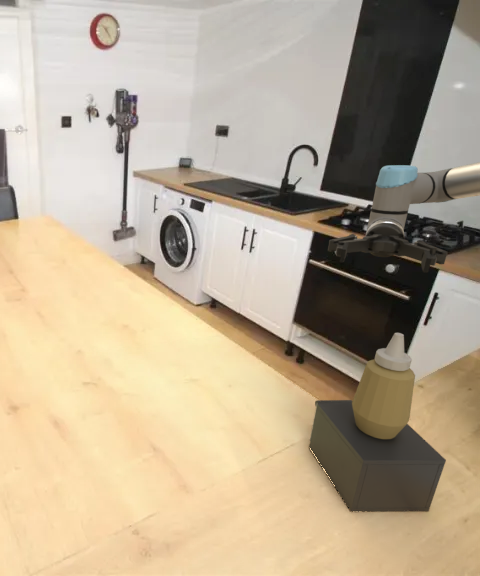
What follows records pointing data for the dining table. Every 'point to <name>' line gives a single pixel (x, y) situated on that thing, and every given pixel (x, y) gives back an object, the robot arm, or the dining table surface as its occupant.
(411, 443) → the cabinet
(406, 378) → the squeeze bottle
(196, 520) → the dining table surface
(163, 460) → the dining table surface
